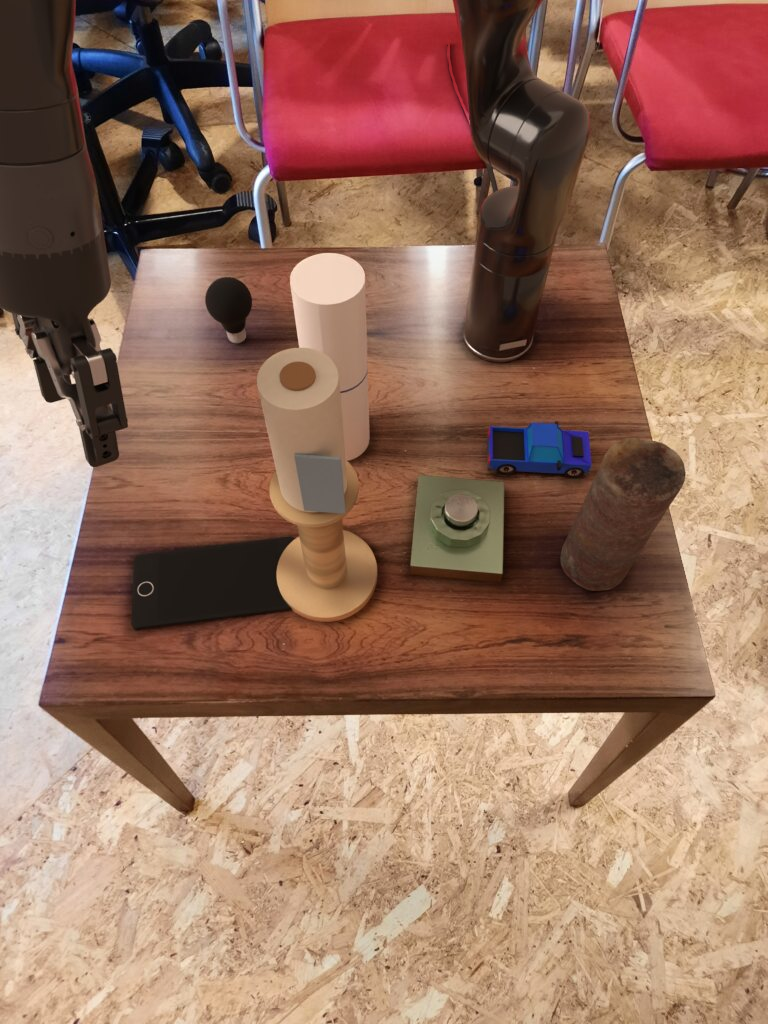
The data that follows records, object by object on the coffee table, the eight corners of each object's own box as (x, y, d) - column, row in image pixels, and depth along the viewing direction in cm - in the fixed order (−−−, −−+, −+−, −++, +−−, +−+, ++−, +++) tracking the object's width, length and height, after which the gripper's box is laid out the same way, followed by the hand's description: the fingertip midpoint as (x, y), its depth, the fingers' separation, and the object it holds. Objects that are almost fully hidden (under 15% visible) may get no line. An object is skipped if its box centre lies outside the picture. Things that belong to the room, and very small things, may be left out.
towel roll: (286, 454, 67) (264, 341, 55) (354, 459, 67) (347, 347, 55) (274, 512, 64) (247, 406, 52) (345, 518, 64) (336, 413, 51)
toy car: (587, 485, 87) (597, 461, 83) (486, 480, 88) (491, 455, 83) (583, 440, 91) (593, 415, 86) (486, 435, 91) (490, 410, 87)
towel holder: (286, 528, 84) (264, 432, 69) (382, 537, 84) (381, 441, 68) (269, 617, 78) (241, 533, 63) (371, 626, 78) (368, 544, 63)
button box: (417, 484, 87) (419, 465, 84) (501, 491, 87) (506, 472, 83) (409, 574, 81) (410, 557, 78) (500, 582, 81) (505, 566, 77)
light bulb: (268, 336, 100) (257, 278, 92) (241, 363, 97) (228, 306, 89) (234, 319, 102) (221, 261, 93) (207, 345, 99) (191, 288, 91)
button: (444, 500, 82) (445, 492, 80) (476, 503, 82) (478, 494, 80) (442, 528, 80) (443, 520, 79) (475, 531, 80) (477, 523, 78)
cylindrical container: (362, 466, 89) (356, 309, 67) (305, 456, 90) (281, 298, 68) (375, 420, 92) (372, 258, 71) (319, 411, 93) (300, 248, 72)
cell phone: (136, 558, 83) (133, 554, 82) (296, 539, 84) (295, 535, 83) (133, 631, 78) (130, 628, 77) (302, 610, 79) (301, 606, 78)
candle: (608, 609, 79) (669, 512, 62) (546, 577, 81) (589, 474, 64) (635, 556, 82) (700, 450, 65) (574, 526, 84) (623, 416, 67)
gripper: (147, 260, 42) (169, 467, 54) (53, 165, 50) (90, 366, 61) (12, 288, 39) (67, 503, 50) (-68, 181, 46) (-4, 391, 57)
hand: (80, 428), depth 56 cm, fingers open, 8 cm apart
